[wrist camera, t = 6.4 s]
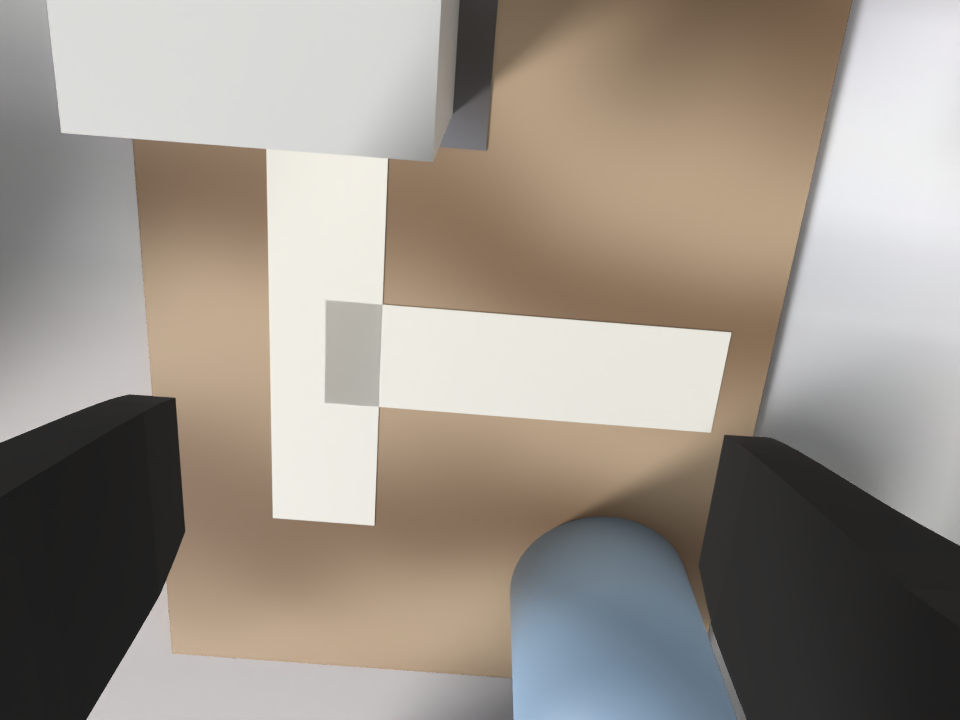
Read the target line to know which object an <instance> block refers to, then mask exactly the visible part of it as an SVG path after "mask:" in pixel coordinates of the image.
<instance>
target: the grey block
mask: <svg viewBox="0 0 960 720" xmlns="http://www.w3.org/2000/svg"><path fill="white" fill-rule="evenodd" d="M46 2H47V11H48V20H49V29H50V38H51V47H52V56H53V65H54V73H55V82H56V91H57V100H58V109H59V118H60V127H61V133H67V134H80V135H93V136H106V137H119V138H132V139H144V140H157V141H170V142H183V143H196V144H209V145H221V146H234V147H247V148H260V149H273V150H286V151H298V152H311V153H324V154H337V155H350V156H363V157H375V158H388V159H401V160H414V161H427V162H433V160H434V158H435V156H436V153H437V151H438V148H439V146H440V144H441V141H442V139H443V136H444V134H445V131H446V129H447V127H448V124H449V122H450V119H451V117H452V115H453V102H454V85H455V69H456V52H457V35H458V19H459V2H460V0H46Z"/></svg>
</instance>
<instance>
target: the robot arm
mask: <svg viewBox="0 0 960 720" xmlns="http://www.w3.org/2000/svg"><path fill="white" fill-rule="evenodd" d="M184 534H185V519H184V506H183V492H182V478H181V465H180V451H179V438H178V424H177V410H176V398H173V397H158V396H143V395H125V396H121V397H117V398H113V399H110V400H107V401H104V402H101V403H98V404H96V405H93V406H90V407H88V408H85V409H83V410H80V411H77V412H75V413H72V414H70V415H67V416H65V417H63V418H60V419H58V420H55V421H53V422H50V423H48V424H45V425H43V426H41V427H38V428H36V429H33V430H31V431H28V432H26V433H23V434H21V435H19V436H16V437H14V438H11V439H9V440H6V441H4V442H1V443H0V720H86V719H87V717H88V716H89V714H90V712H91V711H92V709H93V707H94V706H95V704H96V702H97V701H98V699H99V697H100V696H101V694H102V692H103V691H104V689H105V687H106V686H107V684H108V682H109V681H110V679H111V677H112V676H113V674H114V672H115V671H116V669H117V667H118V666H119V664H120V662H121V661H122V659H123V657H124V655H125V654H126V652H127V650H128V649H129V647H130V645H131V644H132V642H133V640H134V639H135V637H136V635H137V634H138V632H139V630H140V628H141V627H142V625H143V623H144V622H145V620H146V618H147V616H148V615H149V613H150V611H151V610H152V608H153V606H154V604H155V602H156V601H157V599H158V597H159V595H160V593H161V591H162V589H163V586H164V584H165V581H166V579H167V577H168V574H169V572H170V570H171V567H172V565H173V562H174V560H175V557H176V555H177V552H178V550H179V547H180V544H181V542H182V539H183V537H184ZM699 570H700V575H701V580H702V585H703V589H704V594H705V599H706V603H707V608H708V612H709V616H710V620H711V624H712V628H713V632H714V635H715V637H716V640H717V643H718V646H719V648H720V651H721V654H722V656H723V659H724V661H725V664H726V667H727V669H728V672H729V675H730V677H731V680H732V683H733V685H734V688H735V690H736V693H737V695H738V698H739V701H740V703H741V706H742V708H743V711H744V713H745V716H746V719H747V720H960V546H959V545H957V544H955V543H953V542H951V541H950V540H948V539H946V538H944V537H942V536H940V535H939V534H937V533H935V532H933V531H931V530H929V529H928V528H926V527H924V526H922V525H920V524H919V523H917V522H915V521H914V520H912V519H910V518H908V517H907V516H905V515H903V514H901V513H900V512H898V511H896V510H895V509H893V508H891V507H890V506H888V505H886V504H885V503H883V502H881V501H880V500H878V499H876V498H875V497H873V496H871V495H870V494H868V493H866V492H865V491H863V490H861V489H860V488H858V487H857V486H855V485H853V484H852V483H850V482H848V481H847V480H845V479H844V478H842V477H840V476H839V475H837V474H835V473H834V472H832V471H831V470H829V469H827V468H826V467H824V466H822V465H821V464H819V463H817V462H816V461H814V460H812V459H811V458H809V457H807V456H806V455H804V454H802V453H800V452H799V451H797V450H795V449H793V448H791V447H790V446H788V445H786V444H784V443H782V442H779V441H777V440H775V439H772V438H766V437H751V436H736V435H724V439H723V444H722V449H721V454H720V459H719V464H718V469H717V474H716V479H715V484H714V489H713V494H712V499H711V504H710V509H709V515H708V520H707V525H706V530H705V535H704V540H703V545H702V550H701V555H700V560H699Z"/></svg>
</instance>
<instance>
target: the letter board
mask: <svg viewBox="0 0 960 720" xmlns="http://www.w3.org/2000/svg"><path fill="white" fill-rule="evenodd" d="M851 4H852V0H460V2H459V19H458V35H457V52H456V69H455V85H454V102H453V115H452V117H451V119H450V122H449V124H448V127H447V129H446V131H445V134H444V136H443V139H442V141H441V144H440V146H439V148H438V151H437V153H436V156H435V158H434V160H433V162H427V161H414V160H401V159H388V172H387V200H386V227H385V254H384V281H383V304H385V305H398V306H411V307H423V308H436V309H448V310H461V311H473V312H486V313H498V314H511V315H523V316H536V317H548V318H561V319H573V320H586V321H599V322H611V323H624V324H636V325H649V326H661V327H674V328H686V329H699V330H711V331H724V332H732V333H731V338H730V343H729V347H728V352H727V357H726V362H725V367H724V372H723V376H722V381H721V386H720V391H719V396H718V401H717V405H716V410H715V415H714V420H713V425H712V430H711V433H708V432H695V431H682V430H669V429H656V428H643V427H630V426H618V425H605V424H592V423H579V422H566V421H553V420H540V419H528V418H515V417H502V416H489V415H476V414H463V413H450V412H438V411H425V410H412V409H399V408H386V407H379V417H378V445H377V472H376V499H375V525H374V526H371V525H358V524H345V523H331V522H318V521H305V520H292V519H279V518H273V501H272V445H271V388H270V331H269V275H268V218H267V162H266V149H260V148H247V147H234V146H221V145H209V144H196V143H183V142H170V141H157V140H144V139H133V151H134V164H135V177H136V190H137V203H138V216H139V229H140V242H141V255H142V268H143V281H144V294H145V307H146V320H147V333H148V346H149V359H150V372H151V385H152V396H158V397H173V398H176V410H177V424H178V438H179V451H180V465H181V478H182V492H183V506H184V519H185V534H184V537H183V539H182V542H181V544H180V547H179V550H178V552H177V555H176V557H175V560H174V562H173V565H172V567H171V570H170V572H169V574H168V577H167V579H166V580H167V593H168V606H169V619H170V632H171V645H172V653H173V654H187V655H201V656H214V657H228V658H242V659H256V660H269V661H283V662H297V663H311V664H324V665H338V666H352V667H366V668H379V669H393V670H407V671H421V672H434V673H448V674H462V675H476V676H489V677H503V678H512V648H511V613H510V584H511V579H512V575H513V572H514V569H515V567H516V565H517V563H518V561H519V559H520V557H521V556H522V555H523V553H524V552H525V551H526V549H527V548H528V547H529V546H530V545H531V544H532V543H533V542H534V541H535V540H537V539H538V538H539V537H540V536H542V535H543V534H545V533H546V532H548V531H550V530H551V529H553V528H555V527H557V526H560V525H562V524H564V523H567V522H570V521H573V520H578V519H582V518H588V517H616V518H623V519H627V520H631V521H634V522H637V523H640V524H642V525H645V526H647V527H648V528H650V529H652V530H654V531H655V532H657V533H658V534H660V535H661V536H662V537H664V538H665V539H666V540H667V541H668V542H669V543H670V544H671V545H672V547H673V548H674V549H675V550H676V552H677V553H678V555H679V557H680V559H681V560H682V563H683V565H684V568H685V571H686V574H687V577H688V580H689V582H690V585H691V588H692V591H693V594H694V597H695V600H696V603H697V606H698V608H699V611H700V614H701V617H702V620H703V623H704V626H705V629H706V632H707V634H708V630H709V626H710V622H711V620H710V616H709V612H708V608H707V603H706V599H705V594H704V589H703V585H702V580H701V575H700V570H699V560H700V555H701V550H702V545H703V540H704V535H705V530H706V525H707V520H708V515H709V509H710V504H711V499H712V494H713V489H714V484H715V479H716V474H717V469H718V464H719V459H720V454H721V449H722V444H723V439H724V435H736V436H751V437H753V433H754V429H755V425H756V420H757V416H758V412H759V407H760V403H761V398H762V394H763V390H764V385H765V381H766V376H767V372H768V368H769V363H770V359H771V355H772V350H773V346H774V341H775V337H776V333H777V328H778V324H779V320H780V315H781V311H782V306H783V302H784V298H785V293H786V289H787V285H788V280H789V276H790V271H791V267H792V263H793V258H794V254H795V250H796V245H797V241H798V236H799V232H800V228H801V223H802V219H803V214H804V210H805V206H806V201H807V197H808V193H809V188H810V184H811V179H812V175H813V171H814V166H815V162H816V158H817V153H818V149H819V144H820V140H821V136H822V131H823V127H824V123H825V118H826V114H827V109H828V105H829V101H830V96H831V92H832V87H833V83H834V79H835V74H836V70H837V66H838V61H839V57H840V52H841V48H842V44H843V39H844V35H845V31H846V26H847V22H848V17H849V13H850V9H851Z"/></svg>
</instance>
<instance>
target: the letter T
mask: <svg viewBox="0 0 960 720" xmlns="http://www.w3.org/2000/svg"><path fill="white" fill-rule="evenodd" d="M266 162H267V218H268V275H269V331H270V388H271V445H272V501H273V518H279V519H292V520H305V521H318V522H331V523H345V524H358V525H371V526H374V525H375V499H376V472H377V445H378V417H379V407H386V408H399V409H412V410H425V411H438V412H450V413H463V414H476V415H489V416H502V417H515V418H528V419H540V420H553V421H566V422H579V423H592V424H605V425H618V426H630V427H643V428H656V429H669V430H682V431H695V432H708V433H711V430H712V425H713V420H714V415H715V410H716V405H717V401H718V396H719V391H720V386H721V381H722V376H723V372H724V367H725V362H726V357H727V352H728V347H729V343H730V338H731V333H732V332H724V331H711V330H699V329H686V328H674V327H661V326H649V325H636V324H624V323H611V322H599V321H586V320H573V319H561V318H548V317H536V316H523V315H511V314H498V313H486V312H473V311H461V310H448V309H436V308H423V307H411V306H398V305H385V304H383V281H384V254H385V227H386V200H387V172H388V158H375V157H363V156H350V155H337V154H324V153H311V152H298V151H286V150H273V149H266Z"/></svg>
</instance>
